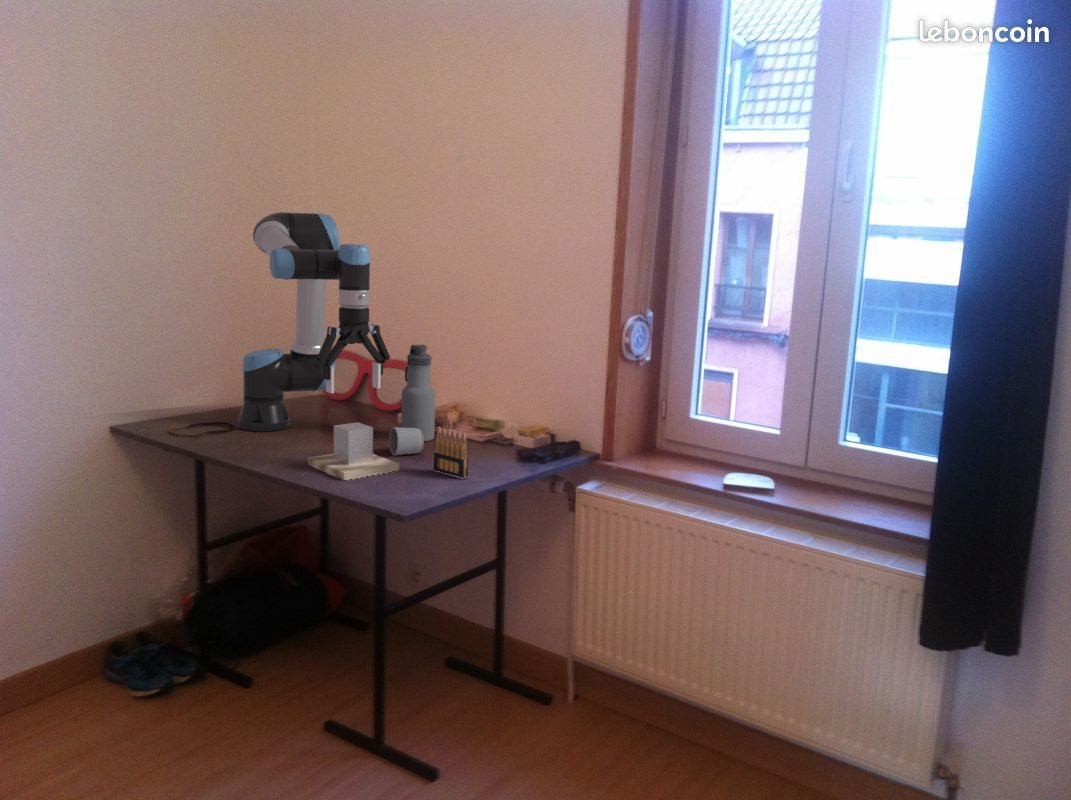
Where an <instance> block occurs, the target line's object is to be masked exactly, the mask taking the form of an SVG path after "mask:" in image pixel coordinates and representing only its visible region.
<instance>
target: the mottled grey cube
mask: <svg viewBox="0 0 1071 800" xmlns="http://www.w3.org/2000/svg"><path fill="white" fill-rule="evenodd" d="M333 454H334V460H336V461H339V462H341V463H344V464H346V465H348V466H349V465H355V464H361V463H367V462H373V454H374V427H373V426H370V425H367V424H363V423H361V422H352V423H351V422H349V423H343V424H335V425H333Z"/></svg>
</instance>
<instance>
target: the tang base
mask: <svg viewBox="0 0 1071 800" xmlns="http://www.w3.org/2000/svg"><path fill="white" fill-rule="evenodd" d="M307 465H308V466H310V467H312V468H314V469H316V470H318V469H319V470H318V471H321V472H323V473H325V472H326V474H327V475H330V476H332V475H333V477H334V478H337V477H338V479H339V478H340V479H339V480H341V479H342V481H344V480H346V481H350V479H352V480H357V479H356V478H358V479H362V478H361V477H363V478H366V476H369V477H372V476H371V475H375V476H378V475H377V474H380V475H383V474H382V473H386V474H389V473H388V472H392V471H397V470H399V471H400V463H399V462H396V461H392V459H391V460H390V459H388V458H385V457H383V456H379V455H377V454H374V453H373V462H367V463H361V464H355V465H349V466H348V465H346V464H344V463H341V462H339V461H336V460H334V453H330V454H329V453H328V454H324V455H323V454H322V455H316V456H309V457H307ZM397 472H398V471H397ZM392 473H393V472H392Z"/></svg>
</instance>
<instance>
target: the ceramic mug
mask: <svg viewBox="0 0 1071 800" xmlns="http://www.w3.org/2000/svg"><path fill="white" fill-rule="evenodd" d="M388 437H389V438H388V440H389V441H388V442H389V450H390V453H391V455H392V456H404V455H405V454H407V455H418V454H420V453H422V451H423V449H424V447H425V442H424V435H423V432H422V431H421V430H420V429H417V428H401V427H396V426H395V427H392V428H391V430H390V432H389V436H388ZM417 453H418V454H417ZM405 456H406V455H405Z"/></svg>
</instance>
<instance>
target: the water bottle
mask: <svg viewBox="0 0 1071 800" xmlns="http://www.w3.org/2000/svg"><path fill="white" fill-rule="evenodd" d="M427 350H428V347H427V345H425V344H411V345H410V348H409V354H407V356H406V357H407V363H406V366H405V368H404V380H405V382H406V383H407V384H406V386H405V387H403V389H402V390H401V419H400V420H401V421H400V423H401V425H400V428H417V429H420V430H421V431H422V432H423V435H424V441H427V442H430V441H432V440H434V438H435V424H436V423H435V421H436V420H435V419H436V417H435V416H436V391H435V389H434V388H433V387H432V386H431V367H432V355H431V354H428V353H427V352H426V351H427Z"/></svg>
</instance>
